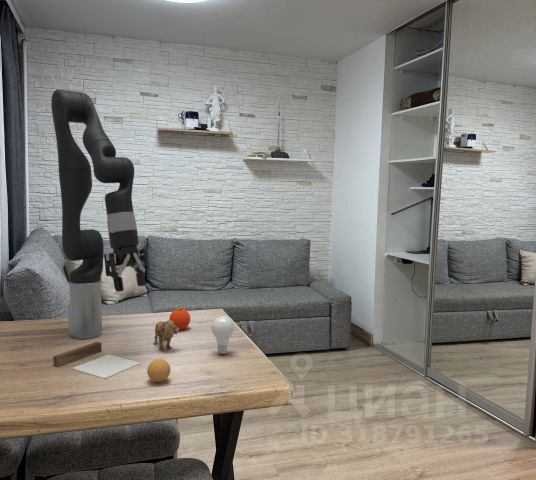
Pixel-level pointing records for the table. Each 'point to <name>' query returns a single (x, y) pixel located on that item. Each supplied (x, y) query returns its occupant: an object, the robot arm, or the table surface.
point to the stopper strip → (77, 354)
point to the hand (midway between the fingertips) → (130, 288)
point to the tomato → (180, 318)
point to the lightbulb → (222, 332)
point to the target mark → (106, 366)
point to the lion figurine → (165, 333)
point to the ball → (158, 370)
